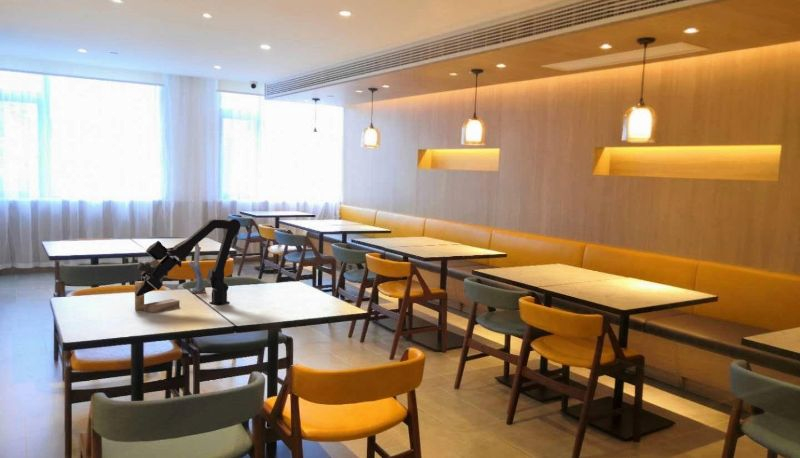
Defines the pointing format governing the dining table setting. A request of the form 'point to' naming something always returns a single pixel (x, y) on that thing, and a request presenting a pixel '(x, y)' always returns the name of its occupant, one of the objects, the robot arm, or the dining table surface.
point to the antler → (197, 272)
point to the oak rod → (139, 299)
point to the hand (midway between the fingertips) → (136, 294)
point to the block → (161, 305)
